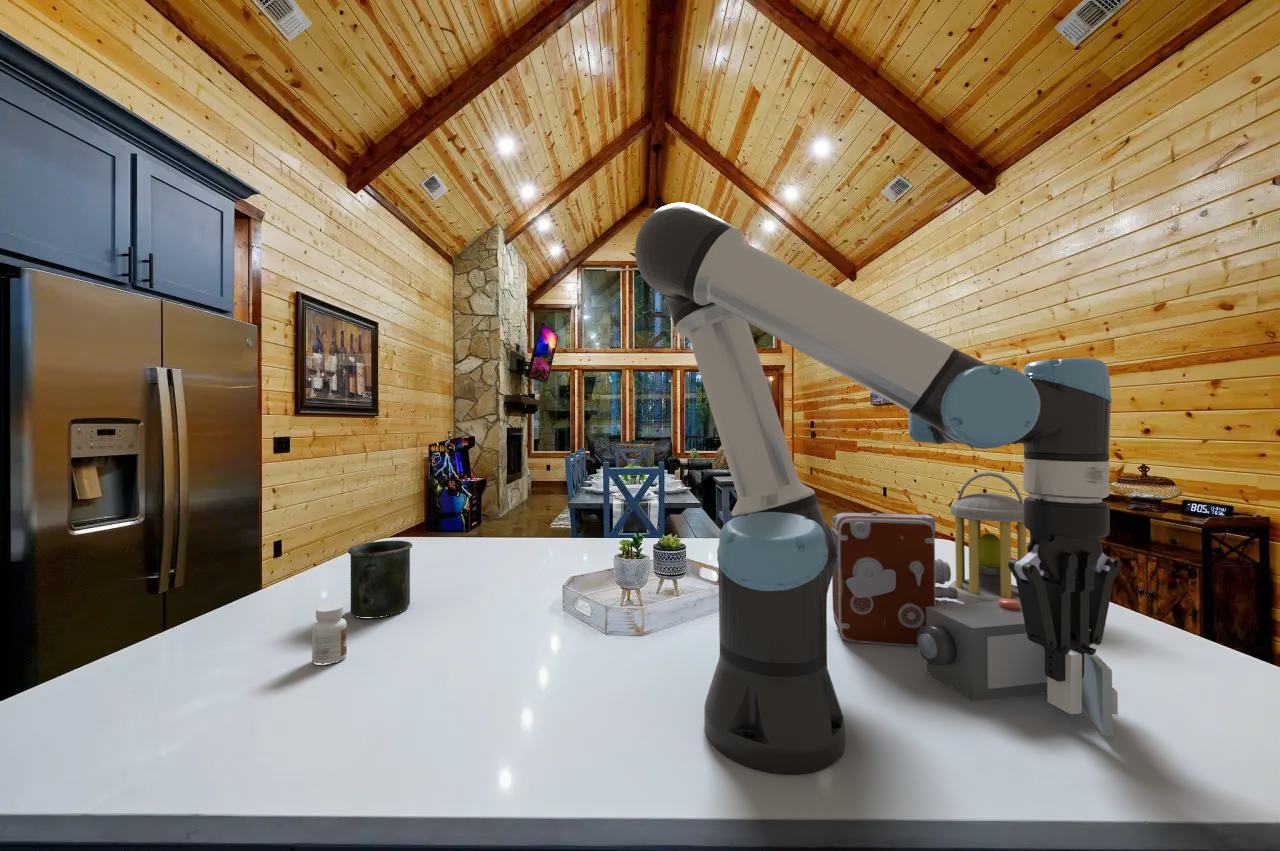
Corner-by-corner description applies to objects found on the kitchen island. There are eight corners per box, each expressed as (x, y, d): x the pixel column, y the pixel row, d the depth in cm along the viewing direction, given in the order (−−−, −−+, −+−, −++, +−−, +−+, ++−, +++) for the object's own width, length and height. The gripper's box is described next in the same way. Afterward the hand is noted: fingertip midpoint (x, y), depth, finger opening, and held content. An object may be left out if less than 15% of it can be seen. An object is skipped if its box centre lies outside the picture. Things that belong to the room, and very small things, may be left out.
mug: (419, 599, 105) (418, 539, 105) (397, 625, 91) (397, 556, 91) (361, 602, 104) (361, 541, 104) (329, 629, 89) (329, 559, 89)
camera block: (957, 704, 64) (956, 623, 64) (910, 673, 72) (909, 602, 72) (1069, 690, 67) (1068, 613, 67) (1012, 663, 75) (1011, 594, 75)
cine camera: (978, 656, 78) (976, 520, 78) (839, 645, 81) (838, 516, 82) (954, 632, 87) (953, 511, 87) (830, 624, 90) (829, 508, 91)
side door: (1118, 738, 55) (1117, 670, 55) (1101, 735, 56) (1100, 667, 56) (1077, 685, 67) (1076, 628, 67) (1063, 683, 67) (1062, 626, 67)
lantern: (945, 601, 102) (944, 473, 102) (951, 584, 113) (950, 468, 114) (1037, 616, 94) (1035, 476, 94) (1033, 595, 105) (1032, 471, 106)
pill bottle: (351, 659, 78) (351, 607, 78) (317, 669, 74) (317, 614, 74) (341, 651, 81) (341, 600, 81) (308, 660, 77) (308, 607, 77)
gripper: (1049, 504, 54) (1048, 733, 54) (1149, 500, 56) (1148, 719, 57) (987, 494, 61) (986, 696, 61) (1078, 491, 64) (1077, 685, 64)
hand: (1064, 707), depth 59 cm, fingers closed
